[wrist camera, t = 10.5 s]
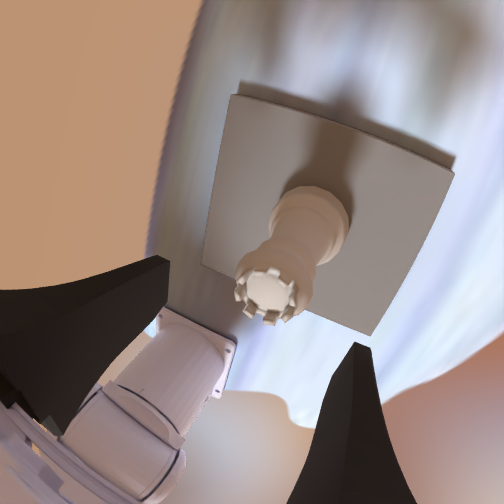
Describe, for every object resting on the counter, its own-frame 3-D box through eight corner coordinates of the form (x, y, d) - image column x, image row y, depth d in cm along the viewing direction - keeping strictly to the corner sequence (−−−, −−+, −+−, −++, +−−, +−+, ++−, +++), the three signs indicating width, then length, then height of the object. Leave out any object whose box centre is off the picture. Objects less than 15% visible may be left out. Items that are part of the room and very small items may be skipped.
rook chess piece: (317, 167, 17) (268, 220, 10) (365, 231, 18) (347, 319, 11) (260, 211, 20) (190, 278, 13) (306, 267, 20) (260, 356, 14)
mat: (371, 327, 21) (370, 336, 21) (207, 257, 24) (200, 264, 23) (451, 170, 15) (454, 174, 14) (238, 94, 18) (230, 94, 17)
